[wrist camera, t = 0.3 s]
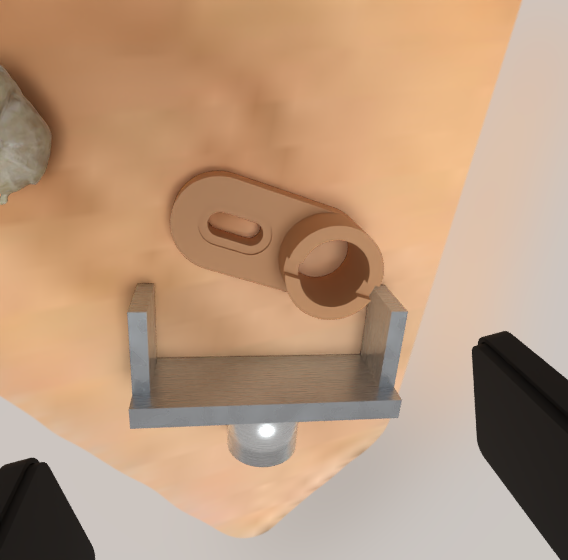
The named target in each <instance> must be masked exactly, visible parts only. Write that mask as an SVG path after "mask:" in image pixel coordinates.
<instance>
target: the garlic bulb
mask: <svg viewBox="0 0 568 560" xmlns="http://www.w3.org/2000/svg"><path fill="white" fill-rule="evenodd" d="M51 140H52V134H51V131H50V129H49V127H48V125H47V123H46V122H45V121H44V119H43V118H42V117H41V116H40V115H39V113H38V112H37V110H36V109H35V108H34V107H33V106H32V104H31V103H30V101H28V100H27V99H26V98H25V97H24V96H23V94H22V91H21V90H20V88H19V87H18V85H17V83H16V82H15V81H14V80H13V79H12V78H11V77H10V75H9V73H8V72H7V71H6V69H5V68H4V67H3V66H1V65H0V194H1V196H0V205H2V204H6V203H7V201H8V195H10V194H11V193H12V192H16V191H19V190H20V189H22V188H24V187H25V186H27V185H29V184H35V185H36V184H37V183H38V182H39V180H40V179H41V177H42V176H43V174H44V173H45V171H46V168H47V165H48V160H49V156H50V149H51Z"/></svg>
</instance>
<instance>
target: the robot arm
mask: <svg viewBox="0 0 568 560" xmlns="http://www.w3.org/2000/svg"><path fill="white" fill-rule="evenodd" d="M472 360H473V361H472V362H473V378H474V397H475V414H476V431H477V442H478V446H479V448H480V451H481V453H482V455H483V456H484V458H485V459H486V460H487V462H488V463H489V464H490V466H491V467H492V469H493V470H494V471H495V473H496V474H497V475H498V476H499V478H500V479H501V481H502V482H503V483H504V485H505V486H506V487H507V489H508V490H509V491H510V493H511V494H512V495H513V497H514V498H515V500H516V501H517V502H518V503H519V505H520V506H521V507H522V509H523V510H524V512H525V513H526V514H527V516H528V517H529V518H530V520H531V521H532V522H533V524H534V525H535V526H536V528H537V529H538V530H539V532H540V533H541V534H542V536H543V537H544V538H545V540H546V541H547V543H548V544H549V545H550V547H551V548H552V549H553V551H554V552H555V553H556V554H557V556H558V557H559V558H560V560H568V380H567V379H566V378H565V377H564V376H562V375H561V374H560V373H559V372H557V371H556V370H555V369H554V368H553V367H551V366H550V365H549V364H548V363H546V362H545V361H544V360H543V359H542V358H540V357H539V356H538V355H537V354H535V353H534V352H533V351H532V350H531V349H529V348H528V347H527V346H526V345H524V344H523V343H522V342H521V341H519V340H518V339H517V338H516V337H515V336H513V335H512V334H511V333H509V332H507V331H503V332H499V333H496V334H492V335H488V336H485V337H481V338H480V339H479V341H478V345H477V346H474V347H473V349H472ZM0 560H95V553H94V549H93V546H92V544H91V543H90V541H89V539H88V537H87V535H86V534H85V532H84V530H83V528H82V526H81V524H80V523H79V521H78V519H77V517H76V515H75V514H74V512H73V510H72V508H71V506H70V504H69V503H68V501H67V499H66V497H65V495H64V493H63V491H62V489H61V488H60V486H59V484H58V482H57V480H56V478H55V477H54V475H53V473H52V471H51V469H50V467H49V466H48V465H47V463H45V462H41V463H40V462H39V461H38V460H37V459H35V458H28V459H25V460H21V461H17V462H13V463H10V464H6V465H4V466H2V467H1V468H0Z"/></svg>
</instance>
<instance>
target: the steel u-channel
mask: <svg viewBox="0 0 568 560" xmlns="http://www.w3.org/2000/svg"><path fill="white" fill-rule="evenodd" d="M369 298H370V299H371V301H370V302H369V303H368V306H367V313H366V320H365V327H364V333H363V340H362V347H361V353H360V354H355V355H298V356H242V357H186V358H157V345H156V318H155V291H154V284H137V286H136V289H135V292H134V295H133V298H132V301H131V304H130V306H129V309H128V312H127V315H128V331H129V347H130V364H131V380H132V399H131V403H130V407H129V418H130V429H136V428H160V427H185V426H210V425H228V437H227V445H228V449H229V451H230V453H231V454H232V455H233V456H234V457H235V458H236V459H237V460H239V461H241V462H242V463H245V464H247V465H250V466H255V467H270V466H275V465H278V464H281V463H283V462H284V461H286V460H287V459H289V458H290V457H291V456H292V454H293V453H294V450H295V447H296V438H297V428H298V422H308V421H332V420H357V419H382V418H398V416H399V411H400V405H401V398H400V396H399V395H398V393H397V391H396V390H395V388H394V384H395V378H396V373H397V368H398V362H399V357H400V351H401V346H402V341H403V335H404V330H405V324H406V319H407V314H408V311H407V310H406V309H405V308H404V307H403V305H402V304H401V303H400V302H399V301H398V300H397V299H396V297H395V296H394V295H393V294H392V293H391V292H390V291H389V289H388V288H387V287H386V286H385V285H380V287H378V286H375V287H374V289H373V291H372V292H371V294H370V295H369Z"/></svg>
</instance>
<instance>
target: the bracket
mask: <svg viewBox="0 0 568 560" xmlns="http://www.w3.org/2000/svg"><path fill="white" fill-rule="evenodd" d="M217 212H224V213H227V214H230V215H233V216H236V217H239V218H242V219H246V220H249V221H252V222H255V223H257V224H259V225H260V226H261V229H260V232H259V233H258V234H257V235H256V236H255V237H253V238H245V237H241V236H238V235H235V234H232V233H228V232H225V231H222V230H219V229H216V228H213V227H212V226H211V225H210V224H209V222H208V219H209V217H210V216H211V215H212V214H214V213H217ZM170 229H171V234H172V237H173V240H174V242H175V244H176V246H177V248H178V249H179V251H180V252H181V253H182V254H183V256H184V257H186V258H187V259H188V260H189V261H190V262H192V263H194V264H195V265H197V266H199V267H202V268H205V269H208V270H211V271H215V272H218V273H222V274H225V275H229V276H232V277H236V278H239V279H243V280H247V281H250V282H254V283H257V284H261V285H264V286H268V287H271V288H275V289H278V290H282V291H285V292H288V294H289V296H290V298H291V300H292V301H293V303H294V304H295V305H296V306H297V307H298V308H299V309H300V310H301V311H303V312H304V313H306V314H308V315H310V316H312V317H315V318H318V319H325V320H335V319H341V318H345V317H348V316H350V315H353V314H355V313H356V312H358V311H360V310H361V309H363V308H364V307H365V306H366V305H367V304H368V303H369V302H370V301H371V299H370V298H369V297H368V296H369V295H370V294H371V292H372V291H373V289H374V287H375V286H378V287H380V285H381V282H382V279H383V273H384V263H383V258H382V254H381V252H380V249H379V248H378V246H377V244H376V243H375V242H374V240H373V239H372V238H371V237H370V236H369V235H367V234H366V233H365V232H364V231H363V230H362V229H361V228H360V227H359V226H358V225H357V224H356V223H355V222H354V221H353V220H352V219H351V218H350V217H349V216H348V215H346V214H345V213H344V212H342V211H341V210H338V209H336V208H334V207H331V206H328V205H325V204H322V203H319V202H316V201H313V200H310V199H307V198H304V197H301V196H299V195H296V194H293V193H290V192H287V191H284V190H281V189H278V188H275V187H272V186H269V185H266V184H264V183H261V182H258V181H255V180H252V179H249V178H246V177H243V176H240V175H237V174H234V173H231V172H226V171H210V172H206V173H202V174H200V175H198V176H196V177H194V178H192V179H191V180H190V181H188V182H187V183H186V184H185V185H184V186H183V187H182V189H181V190H180V191H179V193H178V195H177V197H176V199H175V202H174V205H173V209H172V212H171V217H170ZM335 240H341V241H347V242H348V251H347V255H346V258H345V260H344V261H343V263H342V264H341V266H340V267H339V268H338V269H336V270H335V271H334V272H332V273H330V274H328V275H326V276H322V277H309V276H305V275H303V274H301V273H299V272H298V268H299V264H300V263H302V264H303V262H304V260H305V258H306V257H307V256H308V254H309V253H310V252H311V251H312V250H313V249H315V248H316V247H317V246H319V245H321V244H323V243H326V242H329V241H335Z"/></svg>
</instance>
